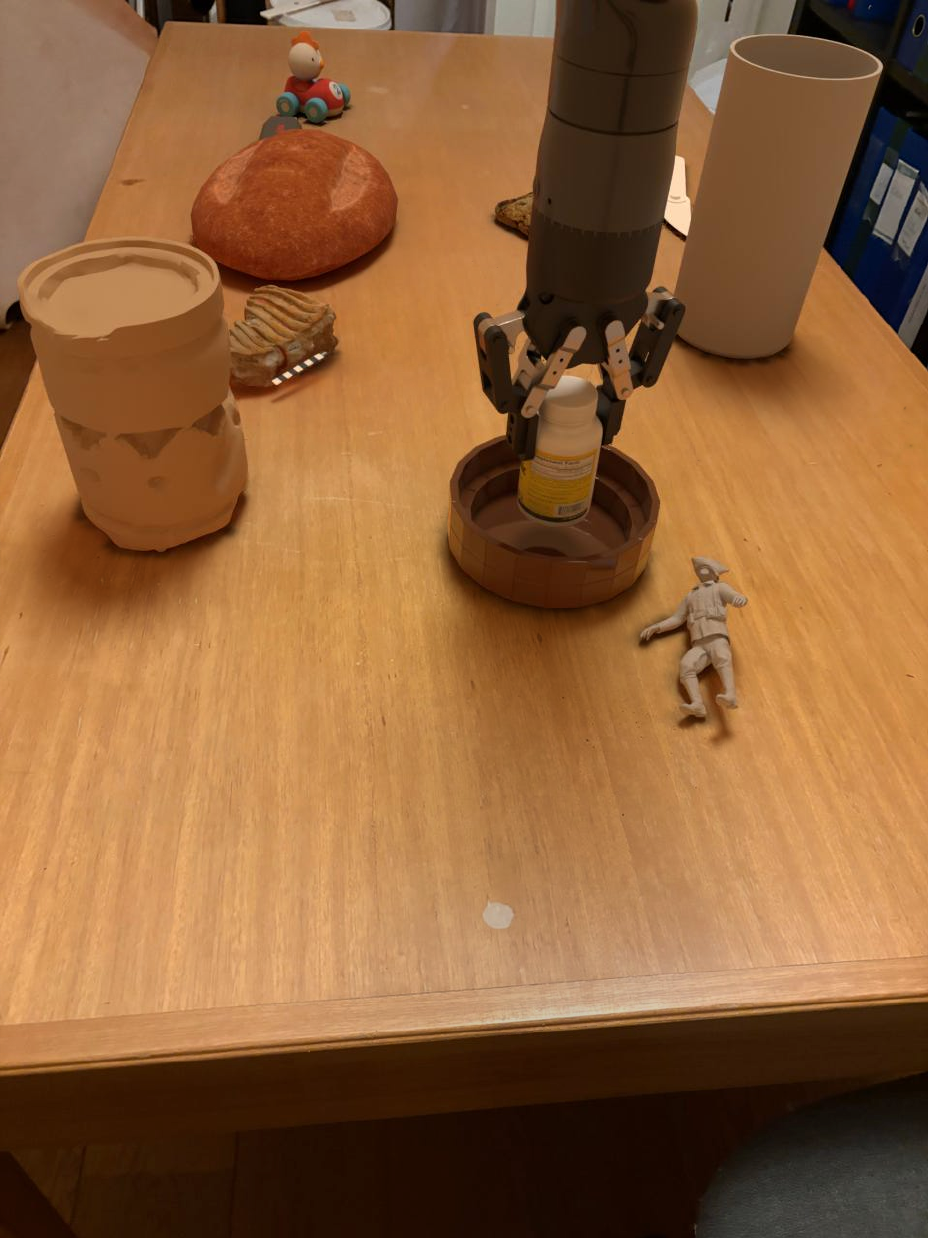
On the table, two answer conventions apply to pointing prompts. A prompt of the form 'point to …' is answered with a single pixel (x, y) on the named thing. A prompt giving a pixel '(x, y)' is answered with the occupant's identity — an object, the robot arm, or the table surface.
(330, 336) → the fossil
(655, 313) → the robot arm
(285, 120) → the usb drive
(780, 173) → the cylinder vase
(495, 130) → the table surface
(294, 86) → the toy car
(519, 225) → the pastry
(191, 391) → the container
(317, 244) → the bread
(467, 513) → the bowl
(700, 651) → the soldier figure
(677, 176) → the knife
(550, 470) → the supplement bottle
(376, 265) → the table surface
